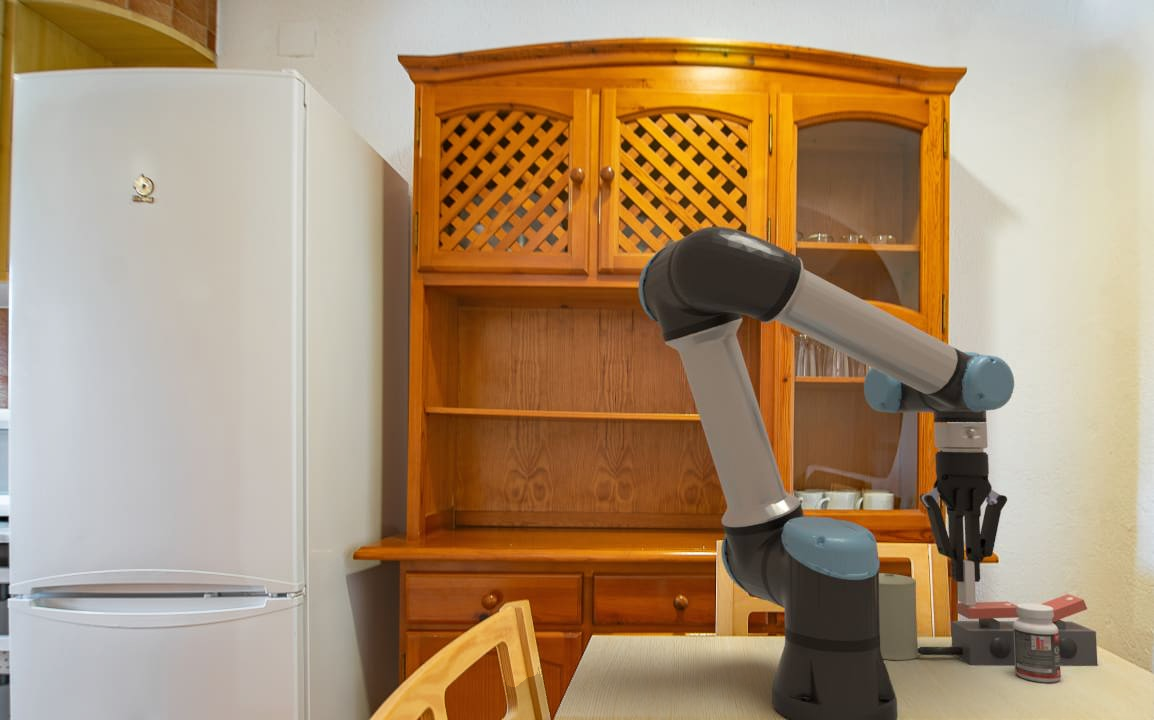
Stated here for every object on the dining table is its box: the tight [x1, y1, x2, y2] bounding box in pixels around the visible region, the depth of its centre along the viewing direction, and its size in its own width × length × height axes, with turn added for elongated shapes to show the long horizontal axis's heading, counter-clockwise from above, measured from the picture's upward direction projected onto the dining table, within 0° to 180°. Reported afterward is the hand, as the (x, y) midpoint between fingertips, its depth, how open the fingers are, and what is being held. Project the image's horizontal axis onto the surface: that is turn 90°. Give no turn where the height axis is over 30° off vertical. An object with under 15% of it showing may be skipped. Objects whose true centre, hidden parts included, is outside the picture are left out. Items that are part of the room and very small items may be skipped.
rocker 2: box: [1041, 593, 1088, 622], centre depth 123 cm, size 8×4×2 cm, turn 91°
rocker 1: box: [956, 601, 1019, 620], centre depth 123 cm, size 8×4×2 cm, turn 89°
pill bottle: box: [1013, 602, 1062, 684], centre depth 114 cm, size 6×6×10 cm
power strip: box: [918, 618, 1098, 666], centre depth 122 cm, size 26×6×6 cm, turn 89°
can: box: [879, 572, 920, 661], centre depth 127 cm, size 9×9×12 cm
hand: (966, 602), depth 123 cm, fingers closed
